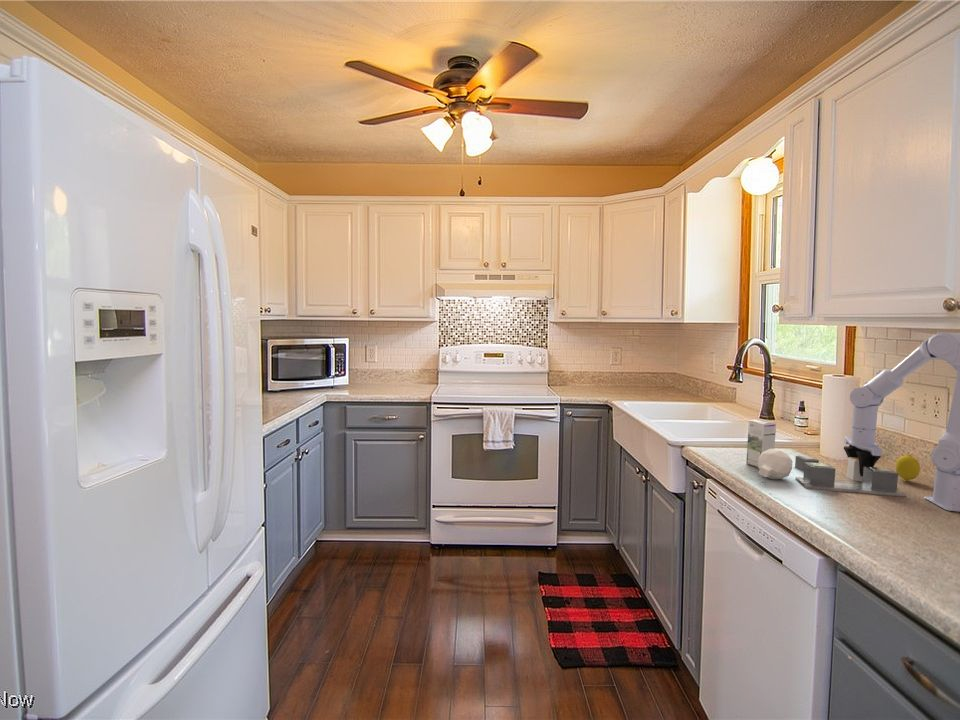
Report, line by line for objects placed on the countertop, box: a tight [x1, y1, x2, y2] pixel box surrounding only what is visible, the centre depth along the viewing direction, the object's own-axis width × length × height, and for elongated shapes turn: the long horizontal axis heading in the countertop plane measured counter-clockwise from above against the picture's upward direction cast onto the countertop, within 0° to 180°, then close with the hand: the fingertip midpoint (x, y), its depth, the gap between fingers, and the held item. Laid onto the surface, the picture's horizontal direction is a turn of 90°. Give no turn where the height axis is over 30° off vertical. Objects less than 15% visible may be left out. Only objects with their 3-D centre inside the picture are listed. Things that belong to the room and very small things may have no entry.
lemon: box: [895, 454, 921, 482], centre depth 153 cm, size 6×6×8 cm
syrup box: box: [746, 418, 777, 468], centre depth 166 cm, size 6×6×14 cm
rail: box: [794, 462, 907, 498], centre depth 146 cm, size 8×24×6 cm, turn 77°
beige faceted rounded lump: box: [757, 448, 793, 480], centre depth 152 cm, size 9×9×12 cm
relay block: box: [794, 455, 820, 473], centre depth 163 cm, size 5×4×4 cm
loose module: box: [846, 456, 863, 482], centre depth 154 cm, size 4×5×6 cm
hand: (859, 473), depth 154 cm, fingers closed on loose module, 4 cm apart
